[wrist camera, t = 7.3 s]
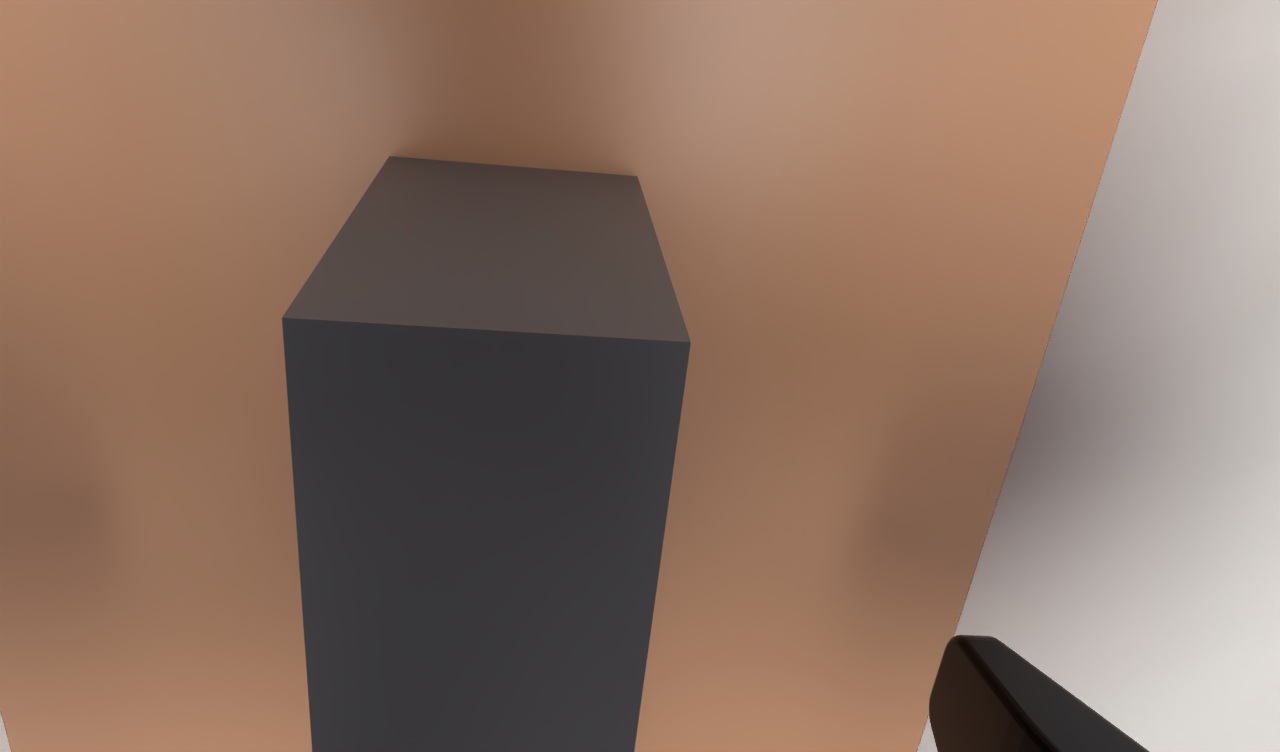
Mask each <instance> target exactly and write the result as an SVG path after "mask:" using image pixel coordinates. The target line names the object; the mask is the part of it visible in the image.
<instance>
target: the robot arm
mask: <svg viewBox="0 0 1280 752" xmlns="http://www.w3.org/2000/svg"><path fill="white" fill-rule="evenodd" d="M929 717H930V723H931V727H932V731H933V735H934V739H935V742H936V746H937V750H938V752H1149V751H1148V750H1147V749H1145V748H1144V747H1142V746H1141V745H1140V744H1138V743H1137V742H1136V741H1134V740H1133V739H1132V738H1130V737H1129V736H1128V735H1126V734H1125V733H1124V732H1122V731H1121V730H1120V729H1118V728H1117V727H1116V726H1114V725H1113V724H1111V723H1110V722H1109V721H1107V720H1106V719H1105V718H1103V717H1102V716H1101V715H1099V714H1098V713H1097V712H1095V711H1094V710H1093V709H1091V708H1090V707H1089V706H1087V705H1086V704H1084V703H1083V702H1082V701H1080V700H1079V699H1078V698H1076V697H1075V696H1074V695H1072V694H1071V693H1070V692H1068V691H1067V690H1066V689H1064V688H1063V687H1062V686H1060V685H1059V684H1057V683H1056V682H1055V681H1053V680H1052V679H1051V678H1049V677H1048V676H1047V675H1045V674H1044V673H1043V672H1041V671H1040V670H1039V669H1037V668H1036V667H1035V666H1033V665H1032V664H1031V663H1029V662H1028V661H1026V660H1025V659H1024V658H1022V657H1021V656H1020V655H1018V654H1017V653H1016V652H1014V651H1013V650H1012V649H1010V648H1009V647H1008V646H1006V645H1005V644H1004V643H1002V642H1001V641H999V640H998V639H996V638H994V637H990V636H971V635H958V636H955V637H953V638H951V639H950V640H949V642H948V643H947V645H946V647H945V650H944V653H943V656H942V660H941V663H940V666H939V669H938V672H937V675H936V678H935V682H934V685H933V688H932V691H931V694H930V699H929Z"/></svg>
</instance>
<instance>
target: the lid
mask: <svg viewBox="0 0 1280 752" xmlns="http://www.w3.org/2000/svg"><path fill="white" fill-rule="evenodd" d="M1157 1H1158V0H0V711H1V715H2V718H3V722H4V726H5V730H6V734H7V737H8V741H9V745H10V749H11V752H917V750H918V746H919V743H920V740H921V737H922V734H923V731H924V728H925V725H926V722H927V718H928V715H929V699H930V694H931V691H932V688H933V685H934V682H935V678H936V675H937V672H938V669H939V666H940V663H941V660H942V656H943V653H944V650H945V647H946V645H947V643H948V642H949V640H950V639H951V638H953V637H954V634H955V631H956V628H957V625H958V622H959V619H960V616H961V612H962V609H963V606H964V603H965V600H966V597H967V594H968V591H969V587H970V584H971V581H972V578H973V575H974V572H975V569H976V566H977V563H978V559H979V556H980V553H981V550H982V547H983V544H984V541H985V538H986V535H987V531H988V528H989V525H990V522H991V519H992V516H993V513H994V510H995V506H996V503H997V500H998V497H999V494H1000V491H1001V488H1002V485H1003V482H1004V478H1005V475H1006V472H1007V469H1008V466H1009V463H1010V460H1011V457H1012V453H1013V450H1014V447H1015V444H1016V441H1017V438H1018V435H1019V432H1020V429H1021V425H1022V422H1023V419H1024V416H1025V413H1026V410H1027V407H1028V404H1029V400H1030V397H1031V394H1032V391H1033V388H1034V385H1035V382H1036V379H1037V376H1038V372H1039V369H1040V366H1041V363H1042V360H1043V357H1044V354H1045V351H1046V347H1047V344H1048V341H1049V338H1050V335H1051V332H1052V329H1053V326H1054V323H1055V319H1056V316H1057V313H1058V310H1059V307H1060V304H1061V301H1062V298H1063V294H1064V291H1065V288H1066V285H1067V282H1068V279H1069V276H1070V273H1071V270H1072V266H1073V263H1074V260H1075V257H1076V254H1077V251H1078V248H1079V245H1080V241H1081V238H1082V235H1083V232H1084V229H1085V226H1086V223H1087V220H1088V217H1089V213H1090V210H1091V207H1092V204H1093V201H1094V198H1095V195H1096V192H1097V188H1098V185H1099V182H1100V179H1101V176H1102V173H1103V170H1104V167H1105V164H1106V160H1107V157H1108V154H1109V151H1110V148H1111V145H1112V142H1113V139H1114V135H1115V132H1116V129H1117V126H1118V123H1119V120H1120V117H1121V114H1122V111H1123V107H1124V104H1125V101H1126V98H1127V95H1128V92H1129V89H1130V86H1131V82H1132V79H1133V76H1134V73H1135V70H1136V67H1137V64H1138V61H1139V58H1140V54H1141V51H1142V48H1143V45H1144V42H1145V39H1146V36H1147V33H1148V29H1149V26H1150V23H1151V20H1152V17H1153V14H1154V11H1155V8H1156V5H1157Z"/></svg>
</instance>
